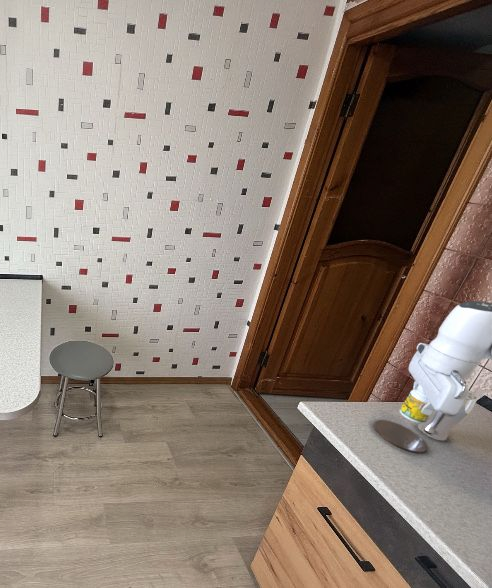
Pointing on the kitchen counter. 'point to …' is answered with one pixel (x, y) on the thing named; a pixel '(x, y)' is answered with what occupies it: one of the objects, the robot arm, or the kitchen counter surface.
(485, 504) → the kitchen counter surface
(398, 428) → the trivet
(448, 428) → the beer glass
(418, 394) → the supplement bottle
